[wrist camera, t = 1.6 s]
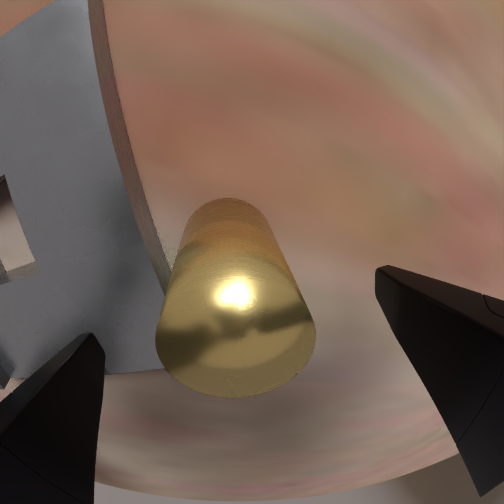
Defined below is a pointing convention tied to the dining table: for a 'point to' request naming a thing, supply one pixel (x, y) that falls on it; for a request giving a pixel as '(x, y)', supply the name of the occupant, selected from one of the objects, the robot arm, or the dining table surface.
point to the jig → (73, 200)
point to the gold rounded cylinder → (232, 306)
